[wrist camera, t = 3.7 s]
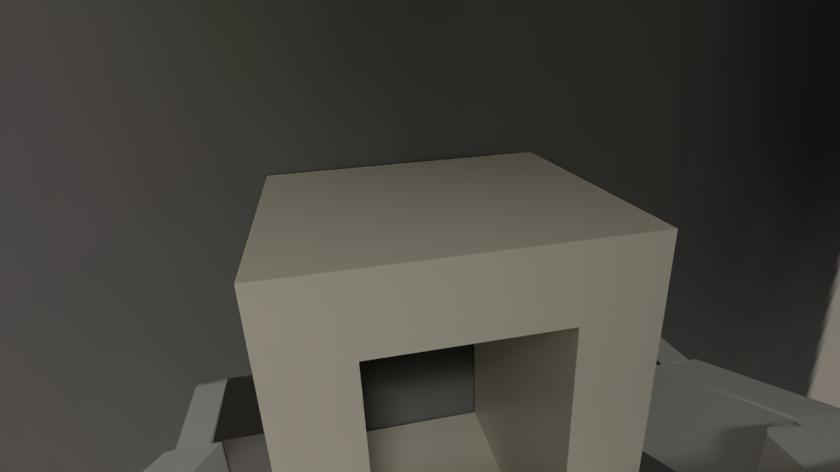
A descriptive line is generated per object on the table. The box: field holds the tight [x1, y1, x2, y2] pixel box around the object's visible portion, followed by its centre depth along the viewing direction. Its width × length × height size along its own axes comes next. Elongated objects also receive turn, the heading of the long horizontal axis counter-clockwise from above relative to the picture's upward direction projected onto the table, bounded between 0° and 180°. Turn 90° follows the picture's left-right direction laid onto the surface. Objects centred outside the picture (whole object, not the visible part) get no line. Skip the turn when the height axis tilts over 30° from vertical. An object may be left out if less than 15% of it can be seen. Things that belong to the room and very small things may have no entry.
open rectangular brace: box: [234, 152, 678, 472], centre depth 9 cm, size 8×5×5 cm
